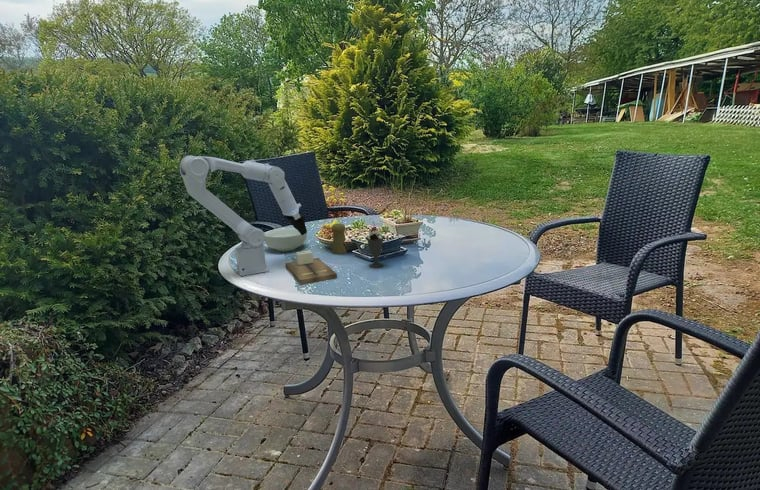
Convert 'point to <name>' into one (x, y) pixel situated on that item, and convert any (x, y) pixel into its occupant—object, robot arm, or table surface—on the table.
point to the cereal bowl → (284, 239)
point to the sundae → (375, 246)
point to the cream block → (304, 257)
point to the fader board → (311, 271)
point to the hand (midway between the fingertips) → (301, 230)
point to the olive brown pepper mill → (338, 239)
